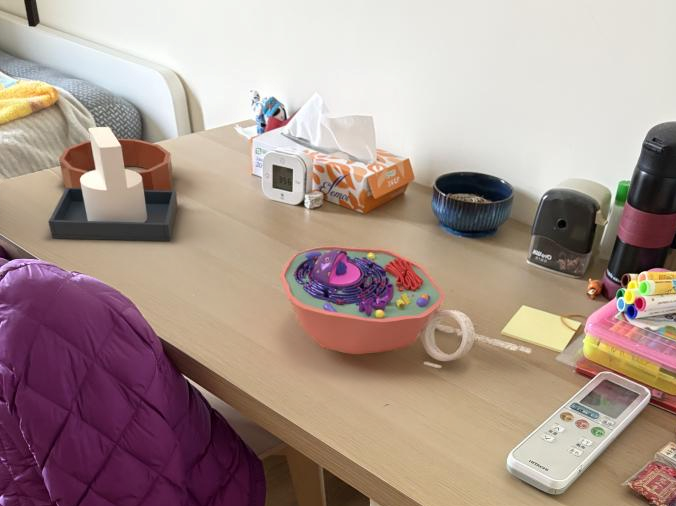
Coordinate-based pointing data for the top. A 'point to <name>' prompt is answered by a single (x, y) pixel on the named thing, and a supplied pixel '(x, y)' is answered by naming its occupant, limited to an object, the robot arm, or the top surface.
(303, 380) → the top surface
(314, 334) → the cell model
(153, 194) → the tray
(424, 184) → the top surface
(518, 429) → the top surface
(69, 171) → the terracotta bowl
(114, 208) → the base with upright slab
